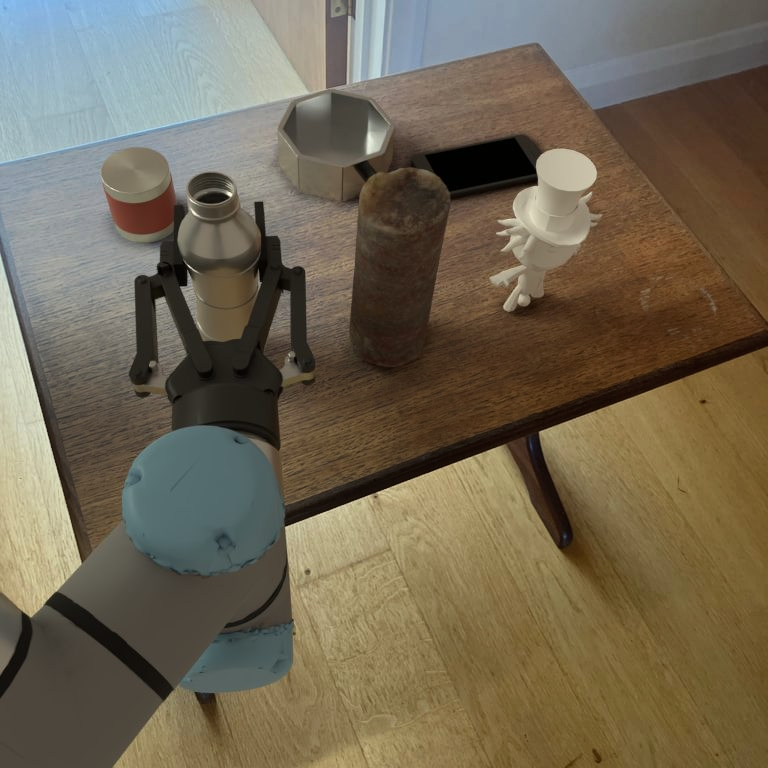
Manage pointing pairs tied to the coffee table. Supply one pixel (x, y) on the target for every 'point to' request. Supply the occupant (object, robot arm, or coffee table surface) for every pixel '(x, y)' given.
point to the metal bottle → (220, 256)
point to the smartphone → (482, 164)
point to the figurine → (547, 222)
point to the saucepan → (334, 143)
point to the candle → (396, 263)
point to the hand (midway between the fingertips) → (220, 215)
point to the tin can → (140, 194)
